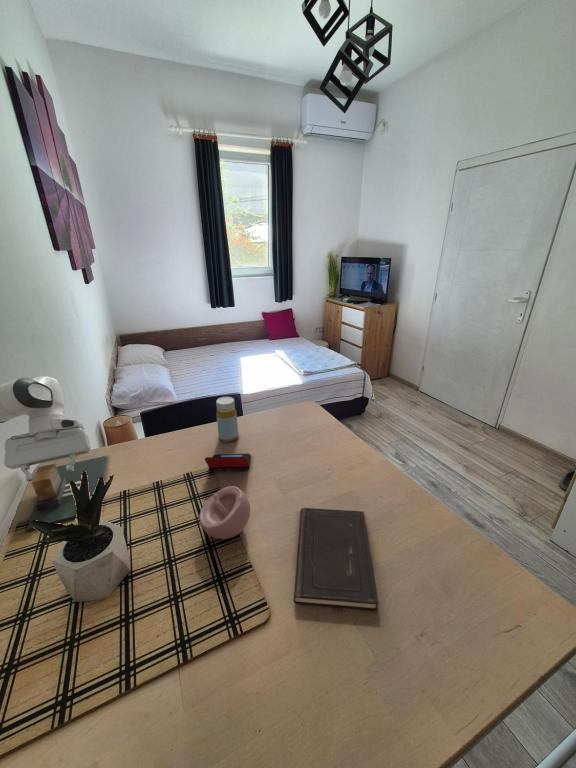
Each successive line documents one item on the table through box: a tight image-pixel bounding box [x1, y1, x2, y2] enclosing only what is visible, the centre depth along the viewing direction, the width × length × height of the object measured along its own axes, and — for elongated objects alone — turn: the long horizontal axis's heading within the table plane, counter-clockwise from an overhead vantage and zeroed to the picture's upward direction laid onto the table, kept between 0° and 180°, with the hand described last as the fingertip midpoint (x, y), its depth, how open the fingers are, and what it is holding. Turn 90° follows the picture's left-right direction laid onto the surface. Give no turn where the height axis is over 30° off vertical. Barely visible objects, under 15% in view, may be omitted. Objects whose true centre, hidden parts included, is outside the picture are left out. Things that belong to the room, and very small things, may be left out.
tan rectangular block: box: [31, 463, 66, 511], centre depth 89 cm, size 5×10×8 cm, turn 24°
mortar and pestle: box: [198, 485, 251, 540], centre depth 78 cm, size 12×12×12 cm
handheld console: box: [204, 453, 252, 472], centre depth 101 cm, size 12×11×7 cm
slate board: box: [26, 455, 108, 532], centre depth 94 cm, size 16×26×1 cm, turn 24°
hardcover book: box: [293, 507, 380, 612], centre depth 72 cm, size 16×23×2 cm
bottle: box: [215, 396, 239, 443], centre depth 115 cm, size 7×7×15 cm
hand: (50, 476), depth 91 cm, fingers open, 8 cm apart
